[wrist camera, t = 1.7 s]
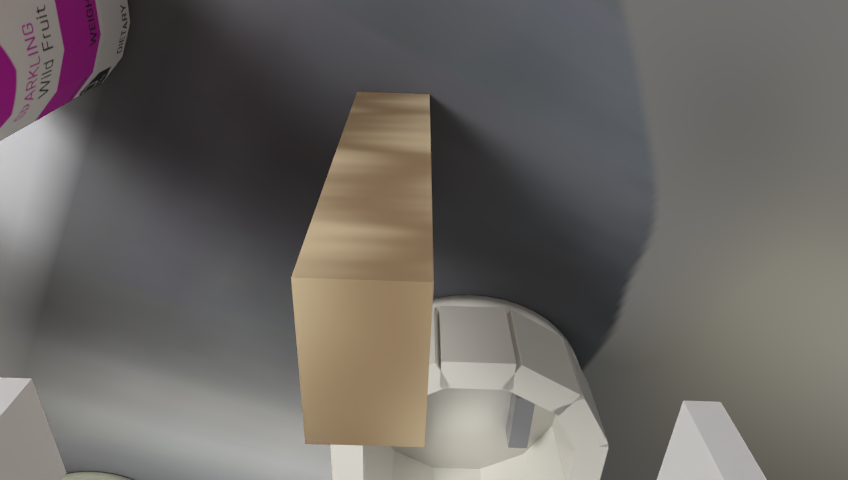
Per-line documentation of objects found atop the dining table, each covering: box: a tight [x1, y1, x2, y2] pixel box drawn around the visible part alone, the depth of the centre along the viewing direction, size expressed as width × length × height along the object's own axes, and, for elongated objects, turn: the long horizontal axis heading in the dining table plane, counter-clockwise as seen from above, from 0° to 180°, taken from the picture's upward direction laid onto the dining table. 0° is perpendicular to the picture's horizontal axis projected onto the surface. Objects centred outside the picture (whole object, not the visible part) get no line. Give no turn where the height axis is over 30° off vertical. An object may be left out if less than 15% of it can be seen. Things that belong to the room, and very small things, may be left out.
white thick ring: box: [331, 295, 609, 480], centre depth 31 cm, size 13×13×5 cm
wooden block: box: [291, 91, 434, 447], centre depth 20 cm, size 3×5×14 cm, turn 178°
